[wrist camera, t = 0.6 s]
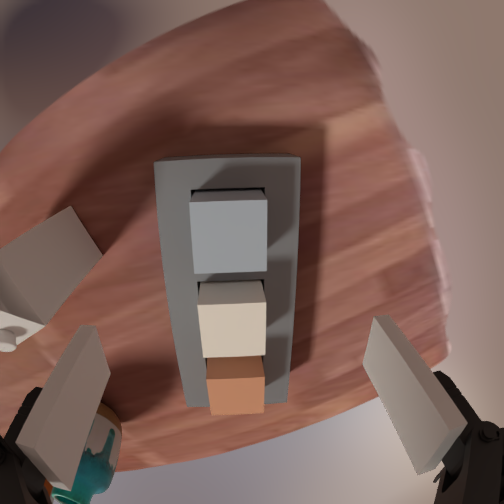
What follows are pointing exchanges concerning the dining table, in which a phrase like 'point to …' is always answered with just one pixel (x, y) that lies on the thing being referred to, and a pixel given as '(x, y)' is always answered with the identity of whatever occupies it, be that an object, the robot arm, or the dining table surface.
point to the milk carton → (42, 274)
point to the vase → (95, 459)
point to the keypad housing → (273, 280)
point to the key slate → (229, 230)
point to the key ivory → (232, 318)
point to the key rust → (235, 385)
